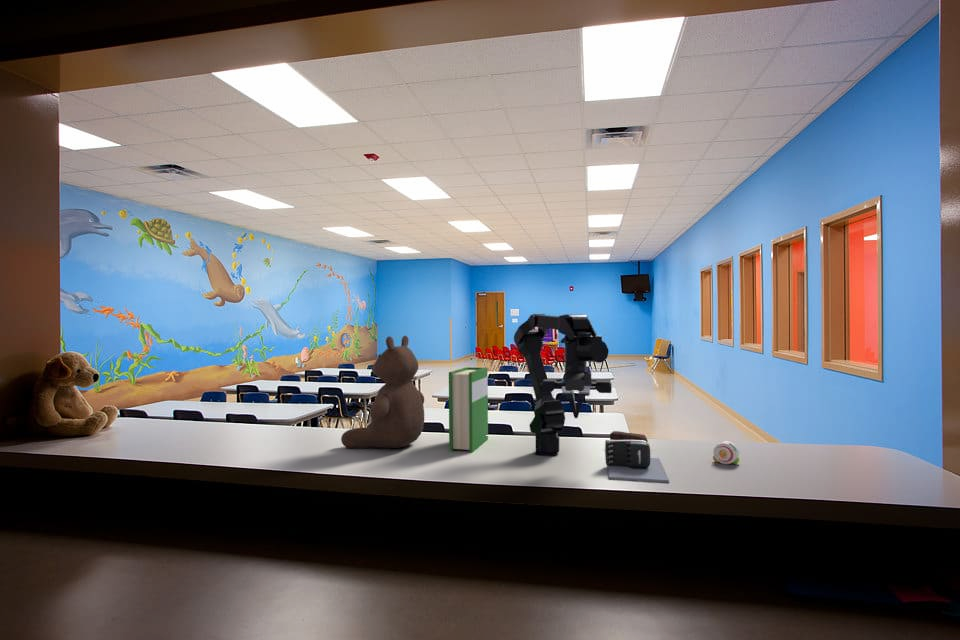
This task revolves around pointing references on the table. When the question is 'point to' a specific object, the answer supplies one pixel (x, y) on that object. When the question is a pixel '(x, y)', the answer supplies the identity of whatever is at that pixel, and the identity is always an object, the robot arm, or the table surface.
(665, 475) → the mat
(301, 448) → the table surface
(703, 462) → the table surface
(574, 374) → the robot arm
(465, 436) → the hardback book
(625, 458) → the battery charger
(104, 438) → the table surface
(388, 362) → the stuffed bear
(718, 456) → the sushi roll
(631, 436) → the brick
